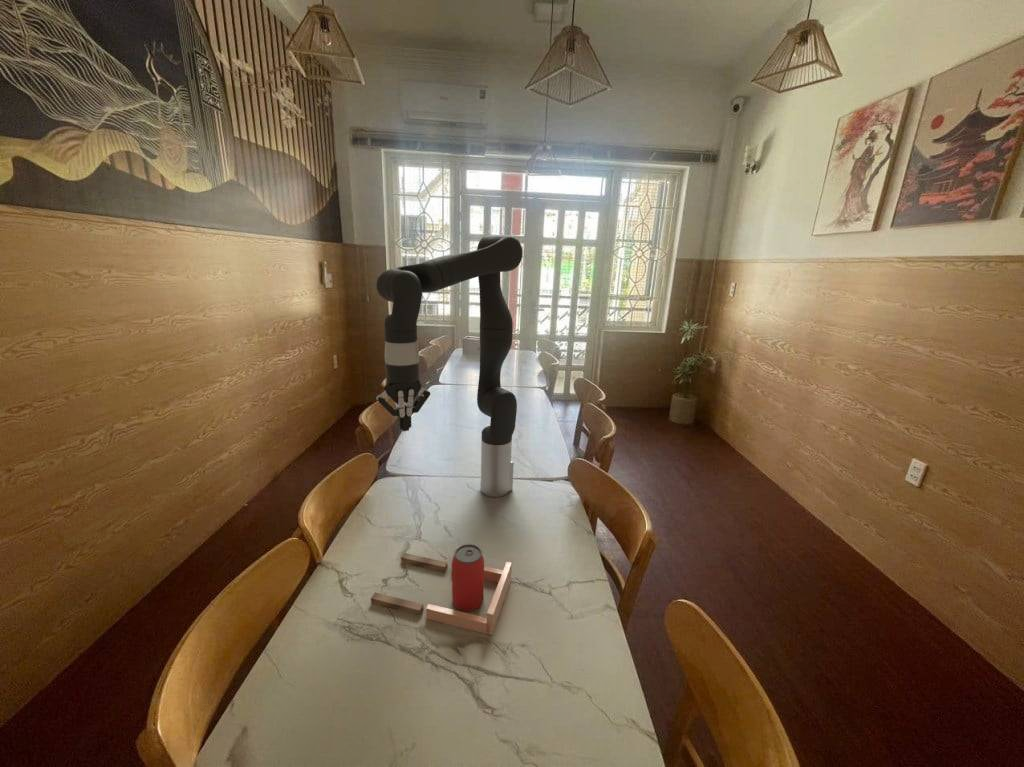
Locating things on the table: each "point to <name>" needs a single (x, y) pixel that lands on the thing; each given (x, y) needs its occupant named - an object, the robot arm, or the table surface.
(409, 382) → the robot arm
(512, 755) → the table surface
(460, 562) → the beer can
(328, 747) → the table surface
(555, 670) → the table surface
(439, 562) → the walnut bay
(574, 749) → the table surface
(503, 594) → the terracotta bay
